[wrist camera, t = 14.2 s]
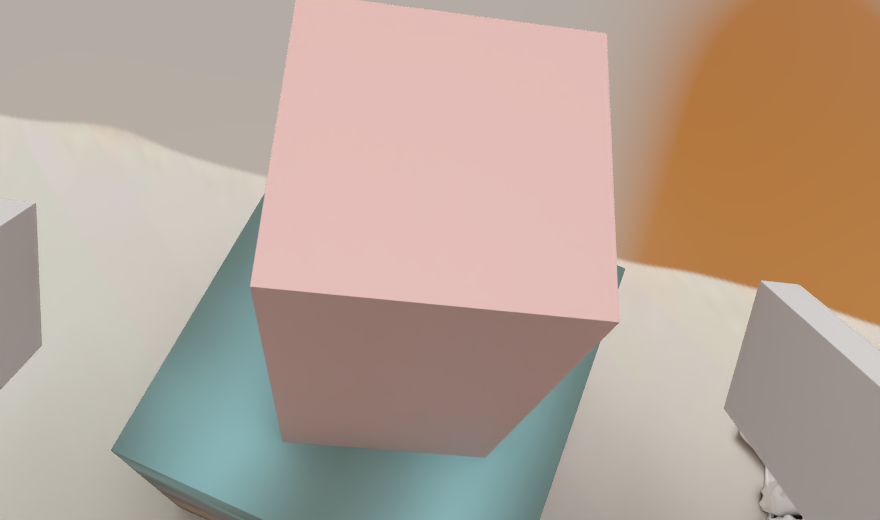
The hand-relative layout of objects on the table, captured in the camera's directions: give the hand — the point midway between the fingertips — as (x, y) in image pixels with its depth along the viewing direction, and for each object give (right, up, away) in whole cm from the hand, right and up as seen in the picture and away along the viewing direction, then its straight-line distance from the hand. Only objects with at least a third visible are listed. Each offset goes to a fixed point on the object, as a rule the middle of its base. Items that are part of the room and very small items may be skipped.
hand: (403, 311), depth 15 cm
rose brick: (-1, -2, +10) cm, 10 cm away
